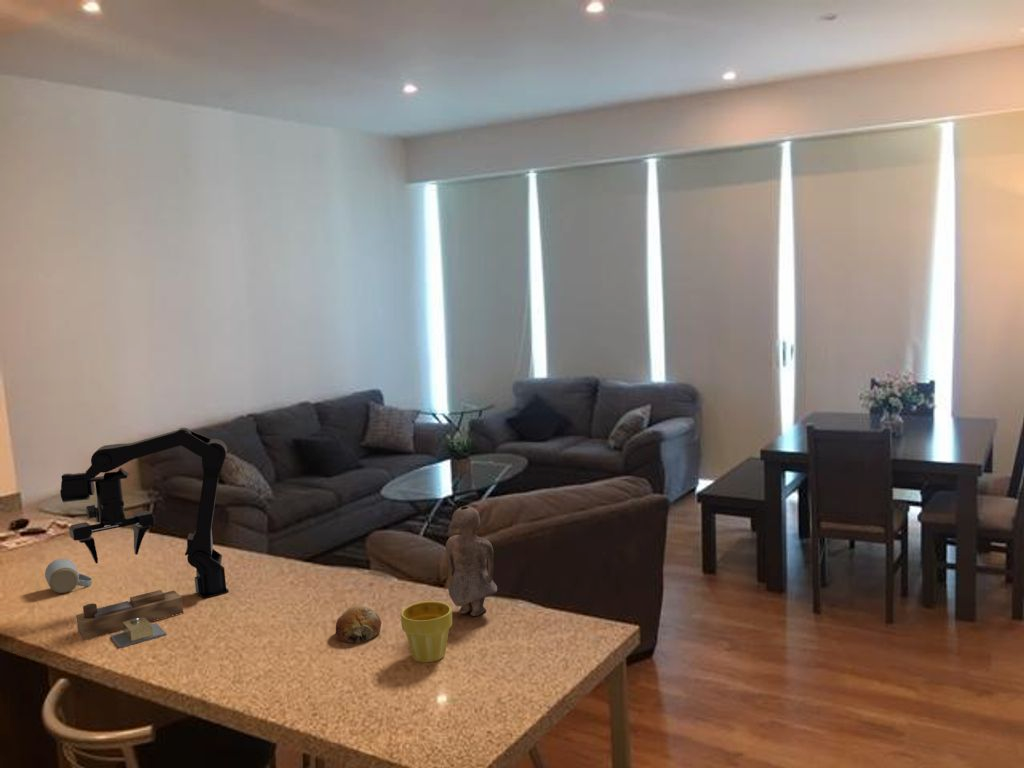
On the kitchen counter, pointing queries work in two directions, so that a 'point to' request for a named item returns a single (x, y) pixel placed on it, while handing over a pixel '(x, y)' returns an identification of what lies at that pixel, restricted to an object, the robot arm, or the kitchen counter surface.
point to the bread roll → (358, 625)
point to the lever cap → (137, 628)
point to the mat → (124, 641)
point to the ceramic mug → (65, 576)
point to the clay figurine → (469, 563)
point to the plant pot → (427, 629)
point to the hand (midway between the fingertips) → (116, 558)
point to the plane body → (127, 612)
